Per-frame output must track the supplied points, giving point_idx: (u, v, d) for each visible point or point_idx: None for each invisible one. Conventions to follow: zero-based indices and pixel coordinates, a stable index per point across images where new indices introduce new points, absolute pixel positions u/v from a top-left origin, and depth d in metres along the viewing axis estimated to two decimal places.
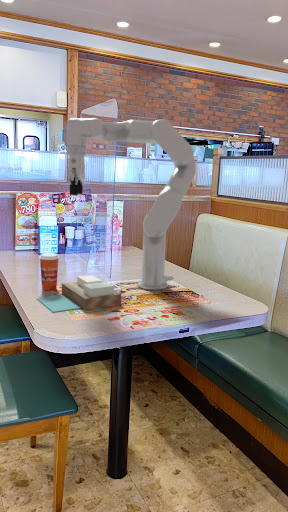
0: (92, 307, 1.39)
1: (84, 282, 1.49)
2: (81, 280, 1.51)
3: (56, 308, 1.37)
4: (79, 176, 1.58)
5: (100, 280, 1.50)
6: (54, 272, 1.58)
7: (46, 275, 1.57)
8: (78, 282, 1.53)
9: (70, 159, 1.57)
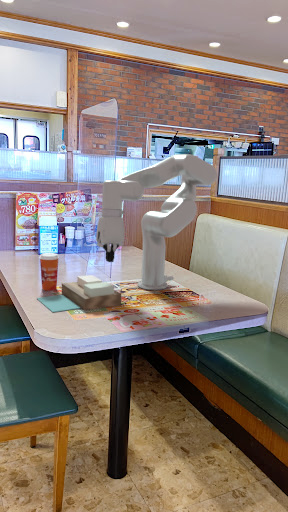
0: (92, 307, 1.39)
1: (84, 282, 1.49)
2: (81, 280, 1.51)
3: (56, 308, 1.37)
4: None
5: (100, 280, 1.50)
6: (54, 273, 1.58)
7: (46, 275, 1.57)
8: (78, 282, 1.53)
9: (123, 223, 1.53)
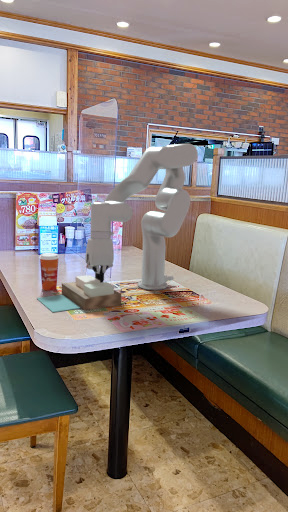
0: (92, 307, 1.39)
1: (82, 282, 1.48)
2: (79, 280, 1.50)
3: (56, 308, 1.37)
4: None
5: (98, 280, 1.49)
6: (54, 272, 1.58)
7: (46, 275, 1.57)
8: (76, 282, 1.53)
9: (112, 244, 1.53)
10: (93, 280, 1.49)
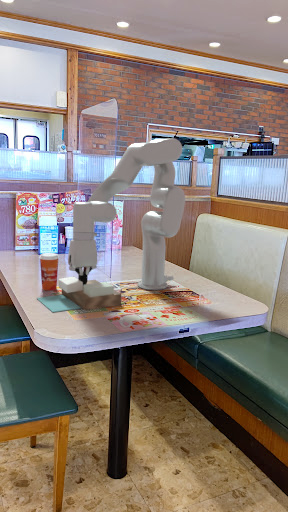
0: (92, 307, 1.39)
1: (64, 284, 1.45)
2: (61, 282, 1.47)
3: (56, 308, 1.37)
4: None
5: (81, 282, 1.45)
6: (54, 272, 1.58)
7: (46, 275, 1.57)
8: (59, 284, 1.50)
9: None
10: (75, 282, 1.45)
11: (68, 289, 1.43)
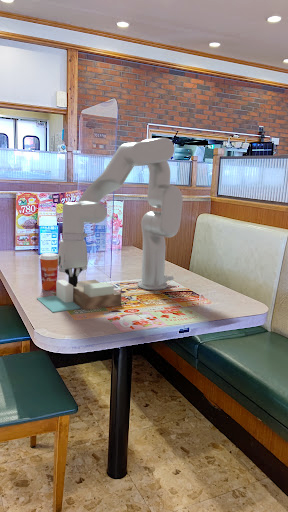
0: (92, 307, 1.39)
1: None
2: None
3: (56, 308, 1.37)
4: None
5: (65, 287, 1.43)
6: (54, 272, 1.58)
7: (46, 275, 1.57)
8: None
9: None
10: (64, 291, 1.44)
11: (70, 300, 1.44)
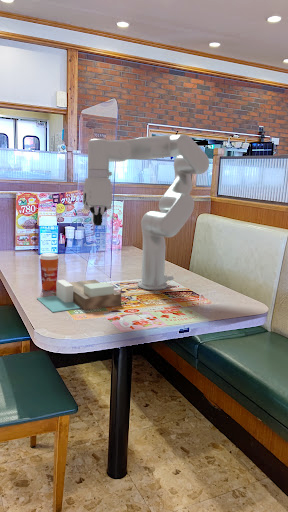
0: (92, 307, 1.39)
1: None
2: None
3: (56, 308, 1.37)
4: None
5: (65, 287, 1.43)
6: (54, 272, 1.58)
7: (46, 275, 1.57)
8: None
9: (110, 184, 1.48)
10: (64, 291, 1.44)
11: (70, 300, 1.44)
